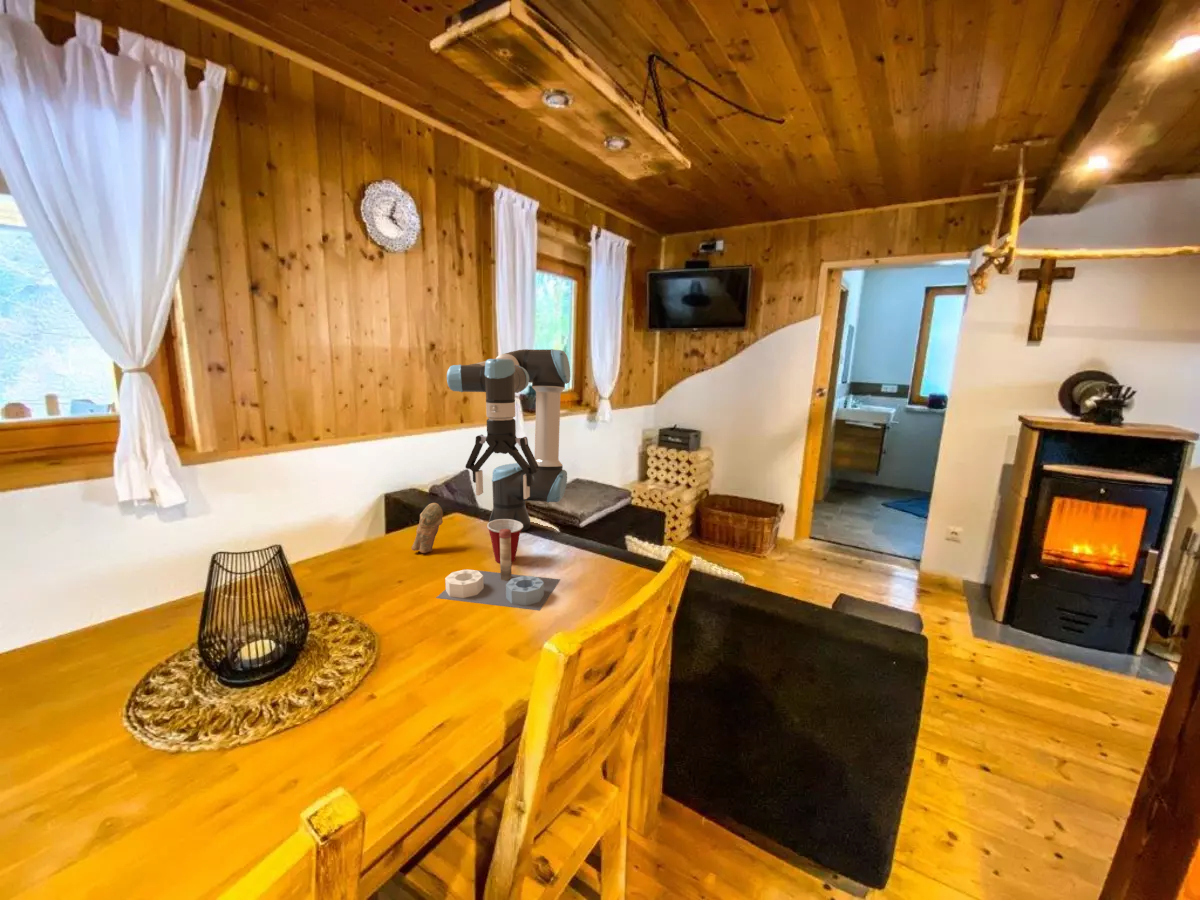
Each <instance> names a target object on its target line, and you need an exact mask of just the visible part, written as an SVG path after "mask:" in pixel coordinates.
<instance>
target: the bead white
mask: <svg viewBox="0 0 1200 900" xmlns="http://www.w3.org/2000/svg"><path fill="white" fill-rule="evenodd" d="M479 571H480V570H478V571H476V569H475V570H474V569H469V570H468V569H466V568H465V569H462V570H457V571H452V572H451V573H450V574H448V575H447V576H446V577H445V578H444V580H445V581H444V582H445V583H444V584H445V589H446V592H447V593H448V595H449V596H450V597H458V598H466V597H470V596H474V595H477V594H478V593H479V592H480V591H481V590H482V589H483V588H484V585H483V575H482V574H481V573H480V572H479Z"/></svg>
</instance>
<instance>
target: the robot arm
mask: <svg viewBox="0 0 1200 900" xmlns="http://www.w3.org/2000/svg"><path fill="white" fill-rule="evenodd" d="M570 366H571V365H570V361H569V358H568V355H567V353H566V352H565V351H563V350H561V349H552V348H551V349H527V348H526V349H517V350H513V351H509V352H506V353H502V354H499V355H498V356H496V357H495V358H488V359H486V360H484V361H480V362H476V363H471V364H453V365H450V366H449V368H448V369H447V371H446V382H447V387H448V388H449V390H451V391H453V392H461V393H485V405H486V406H485V409H486V410H485V411H486V412H485V413H486V415H485V416H486V417H487V418H488V419H486V433H487V436H485V435H484V434H480V435H479V434H478V435H477V436H475V443H474V446H473V449H472V451H471V453H470V455H469V457H468V460H467V462H466V464H465V466H464V467H465V469H467V470H468V469H469V470H470V471H472V482H473V483H475V492H476V493H475V495H476V496H477V497H478V496H481V495H483V493H484V479H483V478H484V477H483V476H484V475H483V469H481V467H482V466H483V465H484V464H485V462H486V461H487V460H488V459H489V458H490V456H492V454H493V453H495V454H503V455H504V454H505V455H506V454H508V455H509V456H511V457H512V458H513V460H514V461H515V462H516V463H509V464H502V465H499V466H496V467H495V468H494V469H493V470H492V478H491V483H492V509H491V514H490V516H489V520H488V523H489V522H490V521H493V520H498V519H511V520H516V521H519V522H521V523H522V524H523V528H522V530H521V532H520V533H522V532H524V531H527V530H529V529H530V527H531V518H530V514H529V512H528V510H527V507H526V502H545V503H548V504H549V503H558V502H560V501H561V500H562V499H563V497H564V495H565V492H566V489H567V485H568V483H567V481H568V471H567V470H565V469H563V463H562V462H561V461H560V460H559V451H560V449H559V448H560V420H561V419H560V417H561V416H560V415H561V394H562V392H564V390H565V389H566V384H569V383H570V380H571V367H570ZM530 383H531V385H532V386H531V388H532V389H533V390H534V391H535V426H534V427H535V429H534V431H535V433H534V453H533V452H532V450H531V447H530V446H529V439H528V437H527V436H523V437H517V436H516V435H517V434H516V432H517V431H516V429H517V427H516V426H517V425H516V423H517V422H516V419H515V417H516V393H517V394H519V393H522V391H524V390H526V388H527V387H528V385H529V384H530ZM485 443H486V444H487V445H488V447H487V448H486V450H485V451H484V452H483V454H482V455H481V456H480V457H479V455H480V452H481V451H482V448H483V446H484V444H485ZM517 444H518V446H519V447H520V449H521V452H522V453H523V455H524V456H522V454H521V453H520V452H519V449H518V448H517V447H516V445H517ZM478 457H479V459H478ZM524 457H525V458H524ZM525 459H526V460H525Z"/></svg>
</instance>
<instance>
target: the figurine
mask: <svg viewBox="0 0 1200 900" xmlns="http://www.w3.org/2000/svg"><path fill="white" fill-rule="evenodd" d="M443 514H444V513H443V509H442V507H441V505H439V503H437V502H432V503H429V504H428V505H426V506H425V508H424V509H423V510H422V512H421V513H420V514H419V521H418V522H419V523H418V525H417V528H416V536H415V539H414V542H413V544H412V546H411V550H412V551H419V553H423V554H426V553H429V552H432V551H433V548H434V547H433V545H434V543H435V540H436V536H437V534H438V532H439V529H440V526H441V525H442V524H443V516H444V515H443Z"/></svg>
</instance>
